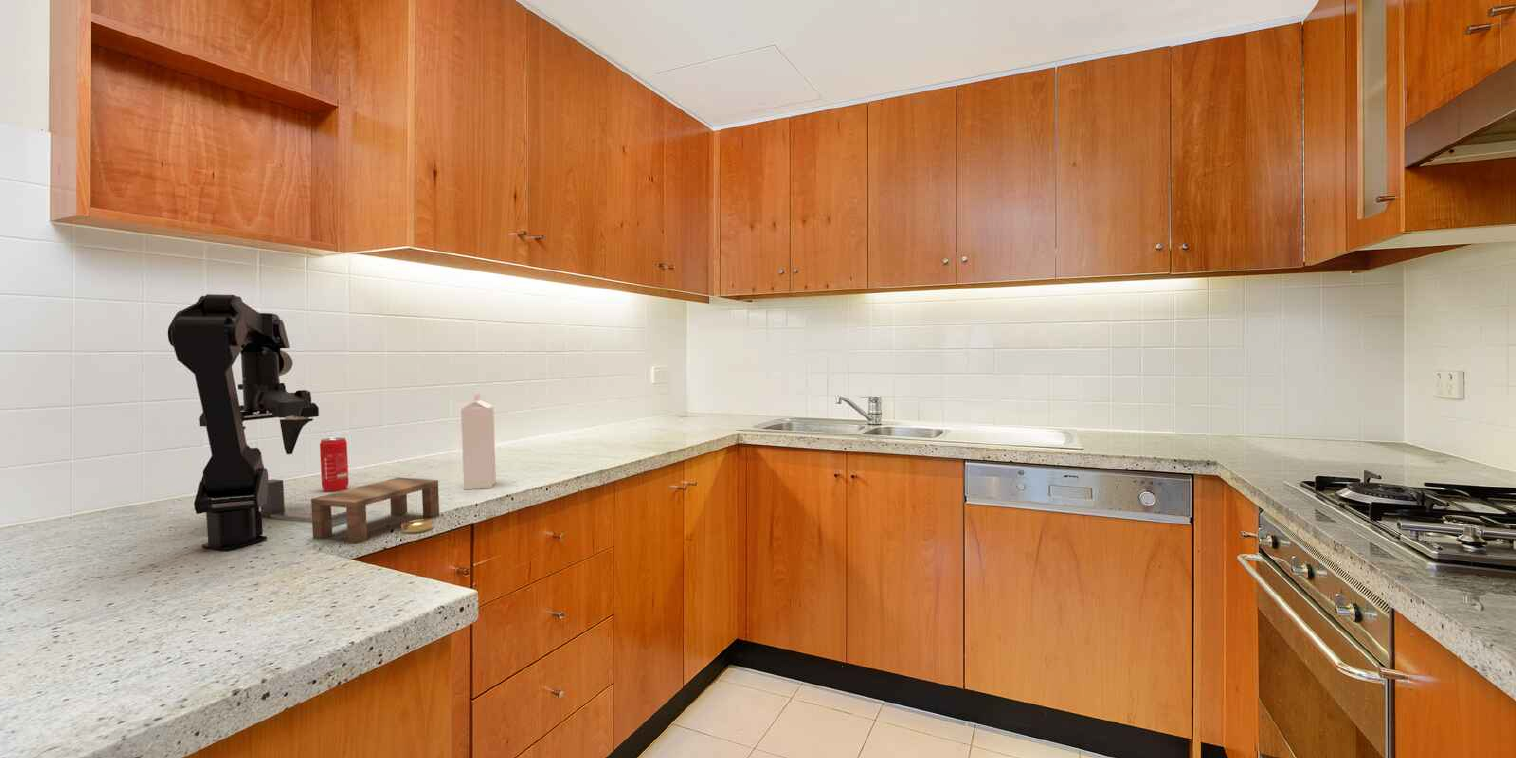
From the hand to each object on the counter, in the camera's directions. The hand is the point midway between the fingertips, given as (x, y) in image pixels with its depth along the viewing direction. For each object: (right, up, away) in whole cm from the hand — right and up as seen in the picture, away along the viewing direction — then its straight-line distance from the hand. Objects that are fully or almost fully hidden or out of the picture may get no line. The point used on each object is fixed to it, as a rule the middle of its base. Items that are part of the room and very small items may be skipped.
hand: (265, 458), depth 123 cm
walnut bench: (+26, -12, -6) cm, 29 cm away
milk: (+30, -10, +27) cm, 42 cm away
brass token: (+35, -12, -9) cm, 38 cm away
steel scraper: (+8, -12, -1) cm, 15 cm away
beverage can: (-3, -11, +25) cm, 27 cm away
